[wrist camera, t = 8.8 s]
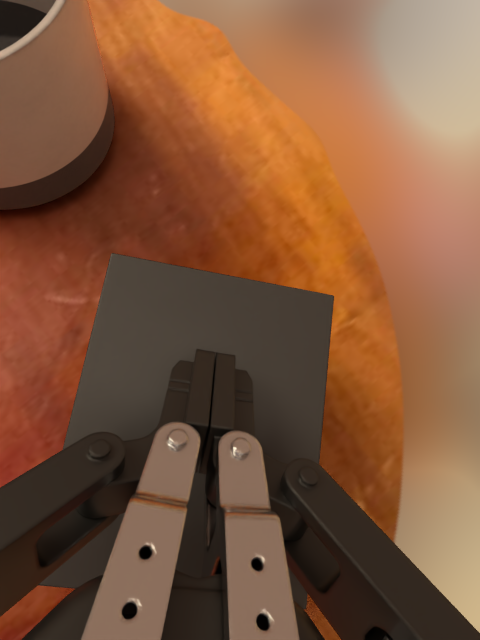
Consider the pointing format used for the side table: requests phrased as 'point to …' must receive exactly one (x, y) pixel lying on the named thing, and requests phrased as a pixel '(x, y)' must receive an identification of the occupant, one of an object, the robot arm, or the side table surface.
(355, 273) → the side table surface
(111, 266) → the lid
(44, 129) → the planter
